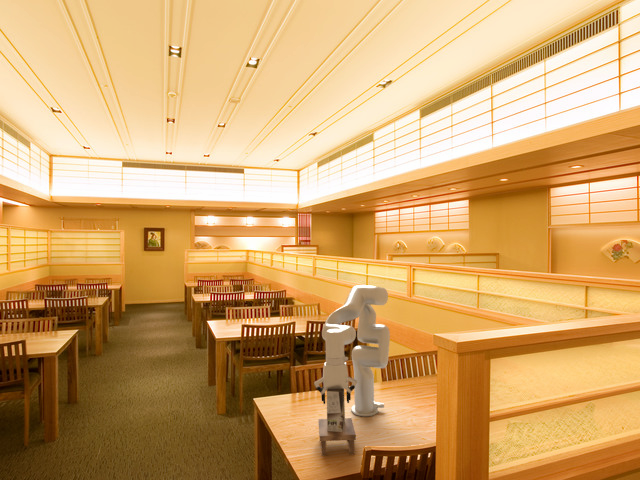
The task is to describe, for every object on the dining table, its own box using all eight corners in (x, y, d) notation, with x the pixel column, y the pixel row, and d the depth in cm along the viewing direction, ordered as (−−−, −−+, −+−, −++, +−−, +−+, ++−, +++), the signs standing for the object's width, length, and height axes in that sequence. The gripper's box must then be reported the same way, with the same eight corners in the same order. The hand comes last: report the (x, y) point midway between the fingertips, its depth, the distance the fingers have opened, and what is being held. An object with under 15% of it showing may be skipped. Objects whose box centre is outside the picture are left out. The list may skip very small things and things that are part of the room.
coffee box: (343, 432, 154) (342, 391, 154) (326, 431, 155) (326, 390, 155) (345, 421, 163) (344, 383, 163) (330, 420, 164) (329, 382, 164)
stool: (351, 436, 166) (351, 418, 166) (356, 455, 152) (355, 434, 152) (318, 438, 166) (318, 419, 165) (320, 456, 152) (319, 436, 151)
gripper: (355, 356, 163) (356, 397, 163) (313, 358, 162) (314, 399, 162) (357, 362, 155) (358, 405, 155) (314, 364, 154) (315, 407, 155)
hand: (336, 402), depth 159 cm, fingers open, 9 cm apart
